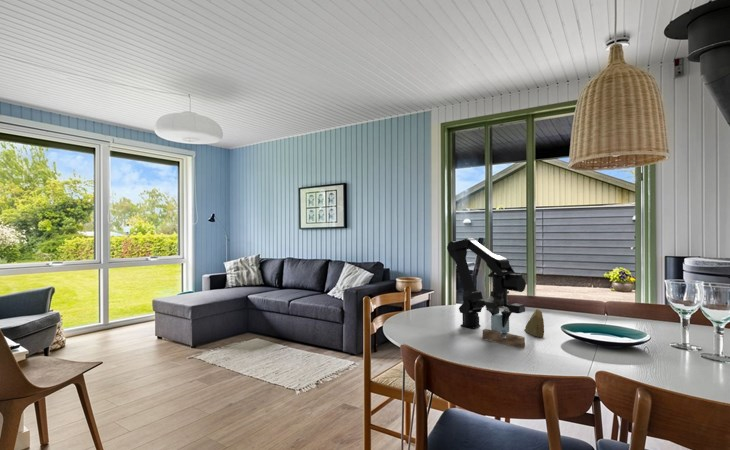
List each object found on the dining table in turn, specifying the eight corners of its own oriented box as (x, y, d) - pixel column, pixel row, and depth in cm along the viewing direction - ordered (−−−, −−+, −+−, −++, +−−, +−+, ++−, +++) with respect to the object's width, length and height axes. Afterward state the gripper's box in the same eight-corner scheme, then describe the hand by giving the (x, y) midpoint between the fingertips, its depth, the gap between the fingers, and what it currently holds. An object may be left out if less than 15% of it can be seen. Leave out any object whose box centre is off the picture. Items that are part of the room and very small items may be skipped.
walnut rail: (482, 338, 154) (482, 329, 154) (485, 337, 155) (485, 328, 155) (521, 347, 142) (521, 338, 142) (524, 346, 143) (524, 337, 143)
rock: (551, 333, 152) (552, 324, 161) (536, 315, 154) (538, 307, 162) (527, 346, 157) (530, 336, 166) (513, 328, 159) (517, 320, 167)
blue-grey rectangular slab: (496, 336, 155) (496, 316, 155) (491, 335, 157) (491, 315, 157) (509, 331, 161) (509, 312, 161) (503, 330, 163) (503, 311, 163)
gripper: (469, 288, 161) (469, 326, 161) (511, 293, 147) (512, 335, 147) (483, 285, 168) (483, 321, 168) (525, 290, 154) (526, 329, 154)
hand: (500, 326), depth 159 cm, fingers closed on blue-grey rectangular slab, 2 cm apart
